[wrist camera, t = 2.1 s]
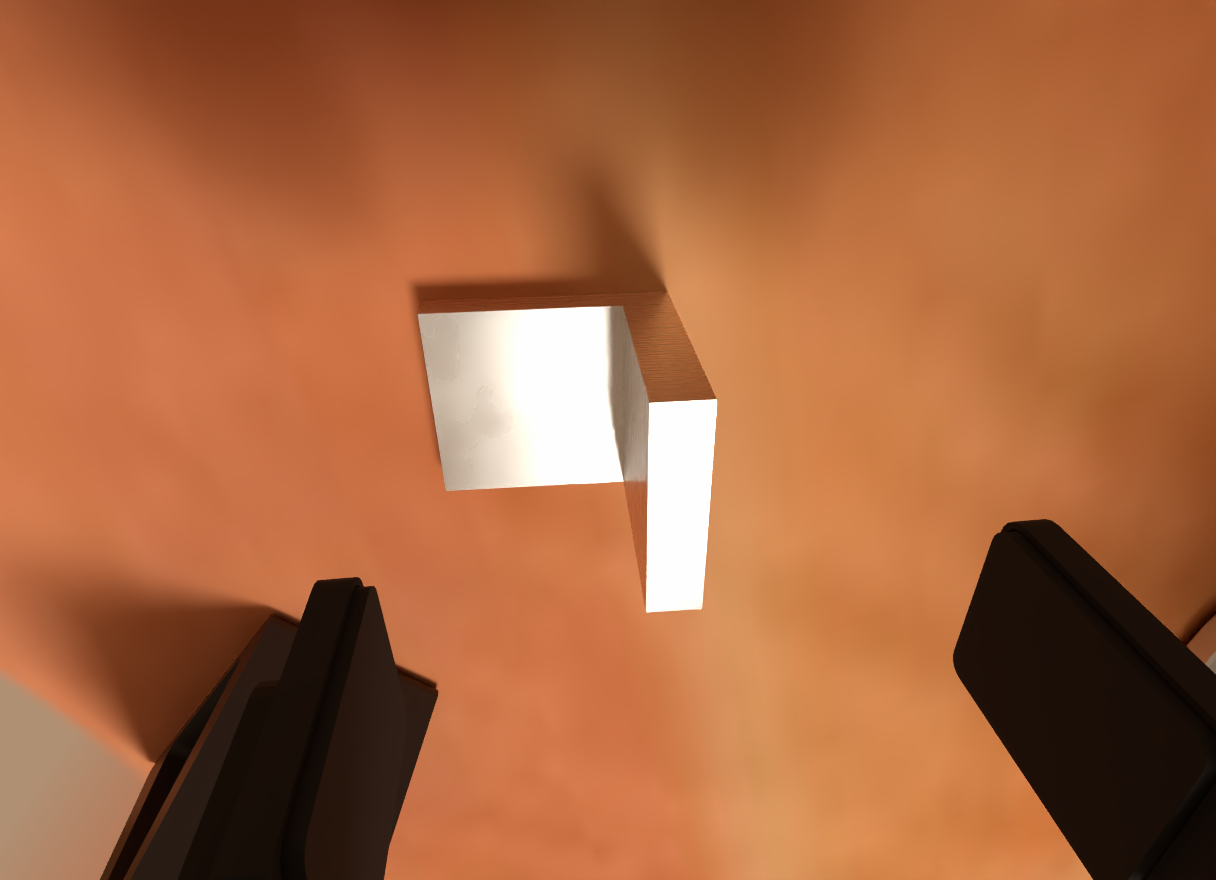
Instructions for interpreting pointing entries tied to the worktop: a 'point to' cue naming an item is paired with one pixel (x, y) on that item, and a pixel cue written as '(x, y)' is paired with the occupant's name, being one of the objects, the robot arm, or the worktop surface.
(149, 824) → the phone stand
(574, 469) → the aluminium bracket
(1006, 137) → the worktop surface
